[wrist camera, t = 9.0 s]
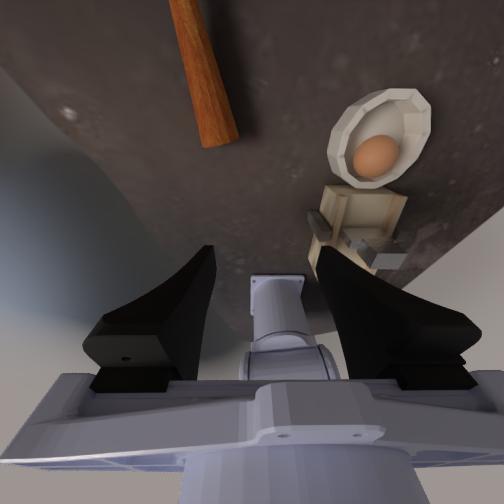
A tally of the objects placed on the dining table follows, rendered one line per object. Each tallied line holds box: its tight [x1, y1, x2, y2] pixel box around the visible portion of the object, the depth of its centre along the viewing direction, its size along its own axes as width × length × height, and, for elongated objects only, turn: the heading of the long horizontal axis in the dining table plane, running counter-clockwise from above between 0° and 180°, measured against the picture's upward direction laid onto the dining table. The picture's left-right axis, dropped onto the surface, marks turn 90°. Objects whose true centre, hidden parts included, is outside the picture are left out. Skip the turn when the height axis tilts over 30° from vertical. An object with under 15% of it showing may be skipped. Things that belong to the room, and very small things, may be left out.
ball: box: [353, 135, 399, 178], centre depth 16 cm, size 3×3×3 cm
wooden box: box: [306, 185, 411, 280], centre depth 21 cm, size 10×9×5 cm
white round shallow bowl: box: [327, 89, 431, 189], centre depth 17 cm, size 7×7×2 cm
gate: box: [338, 228, 408, 269], centre depth 17 cm, size 2×4×5 cm, turn 89°
